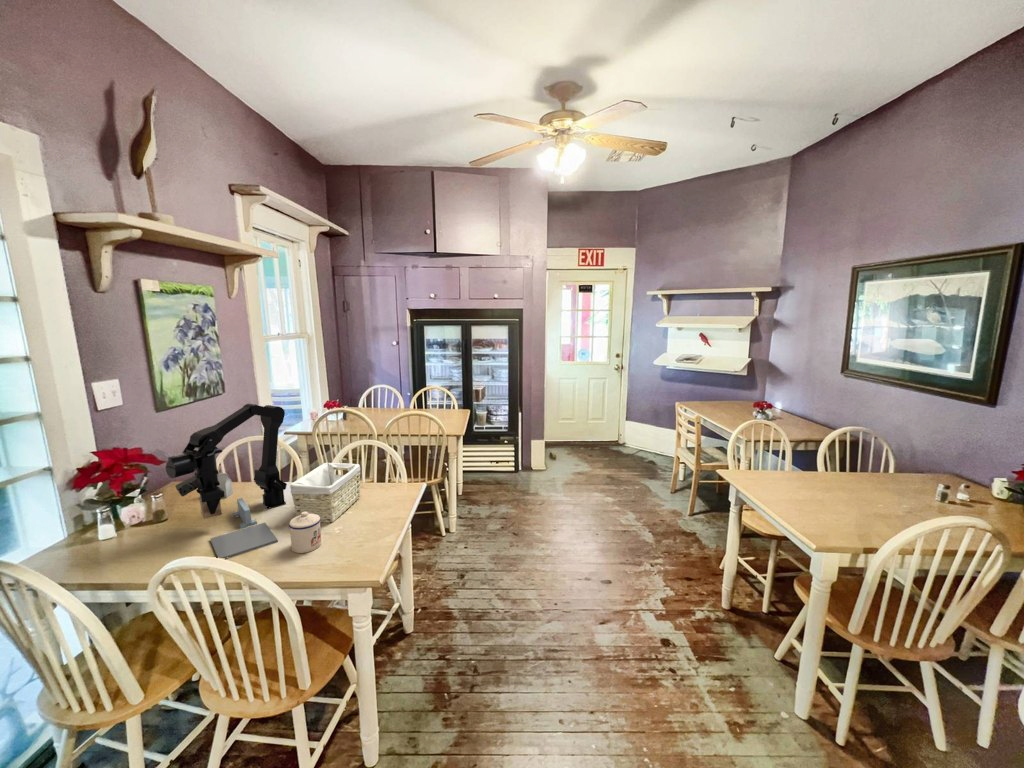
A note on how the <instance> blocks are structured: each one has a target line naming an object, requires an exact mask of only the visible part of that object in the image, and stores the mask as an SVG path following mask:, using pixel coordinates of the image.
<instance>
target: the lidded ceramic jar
mask: <svg viewBox="0 0 1024 768" xmlns="http://www.w3.org/2000/svg"><path fill="white" fill-rule="evenodd" d="M320 520H321V518H320V516H319V515H317V514H309V513H308V512H306V511H305V512H302V513H301V515H300V516H295V517H293V518H292V519H291V520H290V521H289V524H288V526H289V530H290V543H291V544H290V545H291V551H292V552H294V553H296V554H305V553H310V552H312V551H315V550H317V549H318V548H320V546H321V544H322V533H321V532H322V531H321V522H320Z"/></svg>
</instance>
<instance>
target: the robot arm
mask: <svg viewBox="0 0 1024 768" xmlns="http://www.w3.org/2000/svg"><path fill="white" fill-rule="evenodd" d="M285 414H286V412H285V409H284V408H283V407H281V406H279V405H278V406H277V405H269V404H268V405H267V404H266V405H263V406H262V405H258V404H255V403H246V404H244V405H243V406H242V407H240V408H239V409H238V410H236V411H234V412H233V413H232V414H230V415H228V416H226V417H225V418H224V419H222V420H221V421H219V422H217V423H216V424H213V425H211V426H208V427H205V428H202V429H200V430H197V431H196V432H194V433H192V434H191V435H190V436H189V441H188V443H187V445H186V446H185V448H184V449H183V451H182V452H181V453H182V454H179V455H173V456H169V457H168V458H167V459H168V461H167V462H166V466H165V472H166V474H167V476H168V477H169V478H170V479H176V478H179V477H182V476H186V475H190V474H193V473H194V475H193V476H192V477H189V478H187V479H185V480H183V481H181V482H179V483H177V484H176V485H175V489H176V490H177V492H178V493H179V495H180V496H181V497H185V496H187V495H188V494H189V493H191V492H193V491H195V490H196V493H197V494H199V500H201V502H206V503H207V506H208V509H209V511H210V514H215V511H216V509H217V507H218V504H219V502H220V503H221V499H224V498H223V497H225V495H224V490H223V489H222V488H220V487H218V485H220V483H219V481H218V473H219V470H218V465H217V455H216V454H221V453H222V452H223V450H222V449H219V448H218V447H217V446H218V445H219V444H220V443H221V442H222V441H223V439H224V437H225V436H226V435H227V434H228V433H230V432H232V431H234V430H235V429H236V428H237V427H239V426H241V425H242V424H243V423H245V422H247V421H248V420H250V419H251V418H252V417H255V416H260V422H261V423H260V424H261V425H262V426H263V441H262V454H261V455H262V456H261V465H260V467H259V468H258V469H255V470H254V477H253V481H254V483H255V485H257V486H258V487H259V488H260V490H263V494H262V504H263V506H265V507H266V509H271V508H272V509H273V508H275V507H280V506H283V505H286V503H287V502H286V500H285V495H284V494H285V493H284V492H285V491H284V490H286V489H287V484H288V483H286V482H285V481H283V480H281V475H280V470H279V468H278V467H277V456H278V443H279V429H280V427H282V424H283V423H284V419H285Z"/></svg>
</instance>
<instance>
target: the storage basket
mask: <svg viewBox="0 0 1024 768" xmlns="http://www.w3.org/2000/svg"><path fill="white" fill-rule="evenodd" d="M335 471H347V473H345V474H335ZM360 480H361V464H359V463H343V462H324V463H322V464H320V465H319V466H317V467H315V468H314V469H313V470H311V471H309V472H308V473H307V474H305V475H303V476H301V477H300V478H298V479H296V480H295V481H294V482H291V484H290V485H289V487H290V494H291V496H292V500H293V505H294V511H295V513H296V514H295V517H297V516H300V515H301V513H302V512H305V511H306V512H308V513H309V514H317V515H319V516H320V518H321V520H320V523H334V522H335V521H336V520H337V519H338V518H339V517H341V516H342V515H343V514H344V513H345V512H346V511H347V510H348V509H349V508H350V507H351V506H352V505H353V504H354V503H356V501H358V499H359V498H360V497H361V495H360V494H361V493H360V492H361V491H360V489H361V487H360V485H361V481H360Z"/></svg>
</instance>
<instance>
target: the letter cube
mask: <svg viewBox="0 0 1024 768" xmlns="http://www.w3.org/2000/svg"><path fill="white" fill-rule="evenodd" d="M199 500H200V499H199ZM199 503H200V512H201V516H202V519H203V520H206V519H207V520H208V519H210V518H214V517H217V516H222V506H221V501H220V502H219V504H218V507H217V509H216V511H215V514H210V511H209V509H208V506H207V503H206V502H201V500H200V501H199Z"/></svg>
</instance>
